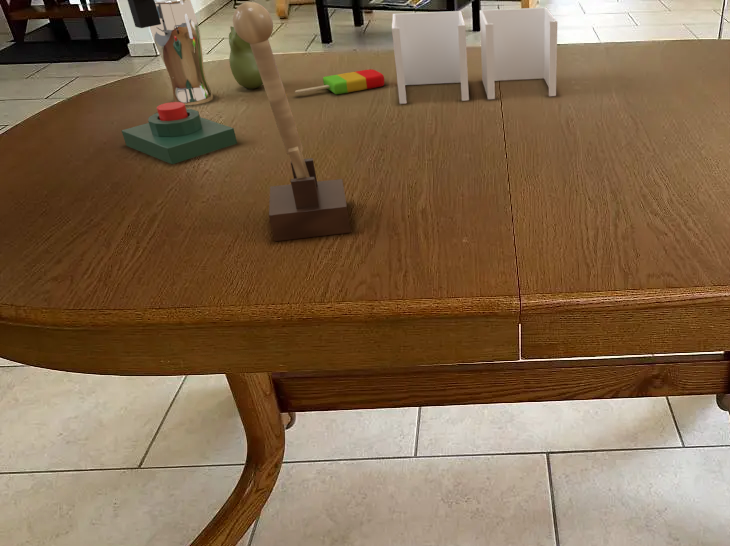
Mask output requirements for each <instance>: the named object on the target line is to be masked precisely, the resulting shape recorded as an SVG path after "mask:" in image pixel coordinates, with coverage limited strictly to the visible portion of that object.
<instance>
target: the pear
mask: <svg viewBox="0 0 730 546" xmlns="http://www.w3.org/2000/svg"><path fill="white" fill-rule="evenodd" d="M229 28H230V29H229V30H230V32H229V34H228V45H229V48H230V51H229V52H230V53H229V60H228V62H229V69H230V71H231V74H232V76H233V78H234V80H235V81H236V82H237V84H238V85H239V86H241V87H242V88H245V89H249V90H250V89H251V90H254V89H258V88H260V87H262V86H264V85H263V82H262V79H261V76H260V73H259V70H258V67H257V64H256V61H255V58H254V55H253V52H252V49H251V46H250V43H248V42H246V41H244V40H243V39H241V38H240V37H239V36H238V34H237V33H236V31H235V29H234V26H233V25H232V26H230V27H229Z"/></svg>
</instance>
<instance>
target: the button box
mask: <svg viewBox="0 0 730 546" xmlns="http://www.w3.org/2000/svg"><path fill="white" fill-rule="evenodd" d="M186 111H187V114H188V117H186V118H183V119H180V120H173V121H161V120H160V117H159V114H158V112H156V113H153V114H152V115H150V116H148V119H147V120H148V122H147V123H143V124H140V125H136V126H132V127H129V128H124V129H122V130H121V133H122V137H123V140H124V143H125V146H126V147H128V148H131V149H133V150H136V151H138V152H140V153H143V154H145V155H148V156H150V157H153V158H155V159H158V160H160V161H163V162H165V163H168V164H171V165H175V164H178V163H181V162H184V161H187V160H190V159H193V158H197V157H199V156H203V155H206V154H209V153H212V152H215V151H218V150H221V149H224V148H225V149H226V148H228V147H231V146H235V145H237V144H238V140H237V137H236V132H235V128H234V127H231V126H228V125H225V124H222V123H219V122H216V121H213V120H210V119H208V118H204V117H202V116H200V112H199V111H198V110H195V109H192V108H186Z"/></svg>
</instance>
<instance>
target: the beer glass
mask: <svg viewBox="0 0 730 546" xmlns="http://www.w3.org/2000/svg"><path fill="white" fill-rule="evenodd" d="M155 4H156V7H157V11H158V15H159V18H160V22H161V24H160V25H155V26H150V27H149V29H150V32H151V37H152V40H153V41H154V44H155V47H156V49H157V51H158V53H159V55H160V58H161V60H162V62H163V64H164V66H165V69H166V71H167V74H168V76H169V80H170V82H171V88H172V89H171V90H172V97H173V102H181V103H184V104H185V106H197V105H202V104H205V103H209V102H211V101H213V99H214V95H213V92H212V89H211V87H210V86H209V83H208V80H207V77H206V74H205V67H204V55H203V44H202V38H201V37H202V36H201V31H200V27H199V23H198V19H197V16H196V13H195V9H194V7H193V4H192V0H155Z"/></svg>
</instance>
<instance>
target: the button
mask: <svg viewBox="0 0 730 546" xmlns="http://www.w3.org/2000/svg"><path fill="white" fill-rule="evenodd" d="M186 109H187V108H186V105H185V104H184V103H181V102H174V101H171V102H165V103H161V104H159V105H158V106H156V110H157V113H158V114H159V117H160V120H161V121H173V120H180V119H183V118H186V117H188V114H187V111H186Z"/></svg>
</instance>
